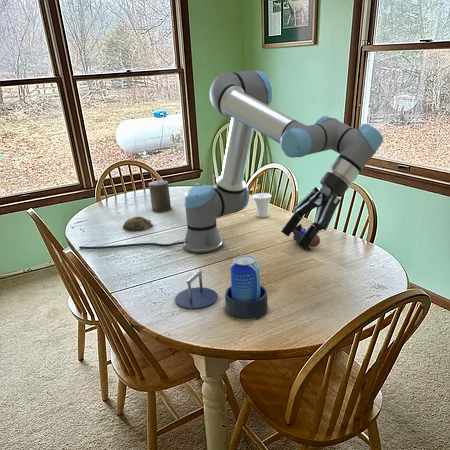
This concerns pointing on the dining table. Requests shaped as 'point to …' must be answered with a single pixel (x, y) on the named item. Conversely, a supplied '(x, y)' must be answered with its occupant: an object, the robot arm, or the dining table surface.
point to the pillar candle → (160, 196)
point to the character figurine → (300, 231)
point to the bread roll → (137, 224)
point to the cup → (262, 204)
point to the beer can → (245, 278)
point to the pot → (246, 306)
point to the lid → (196, 295)
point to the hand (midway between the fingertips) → (292, 240)
